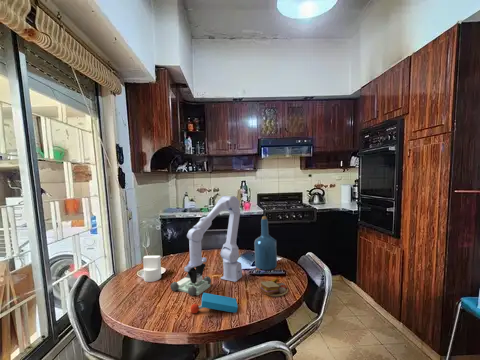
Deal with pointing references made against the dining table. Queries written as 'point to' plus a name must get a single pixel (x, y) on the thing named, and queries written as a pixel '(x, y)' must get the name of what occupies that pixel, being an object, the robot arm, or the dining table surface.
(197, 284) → the grey boxy piece
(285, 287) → the toy sandwich meal
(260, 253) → the wine bottle
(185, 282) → the chassis
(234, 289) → the dining table surface
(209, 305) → the lever
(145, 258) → the cylinder with rectangular tab
